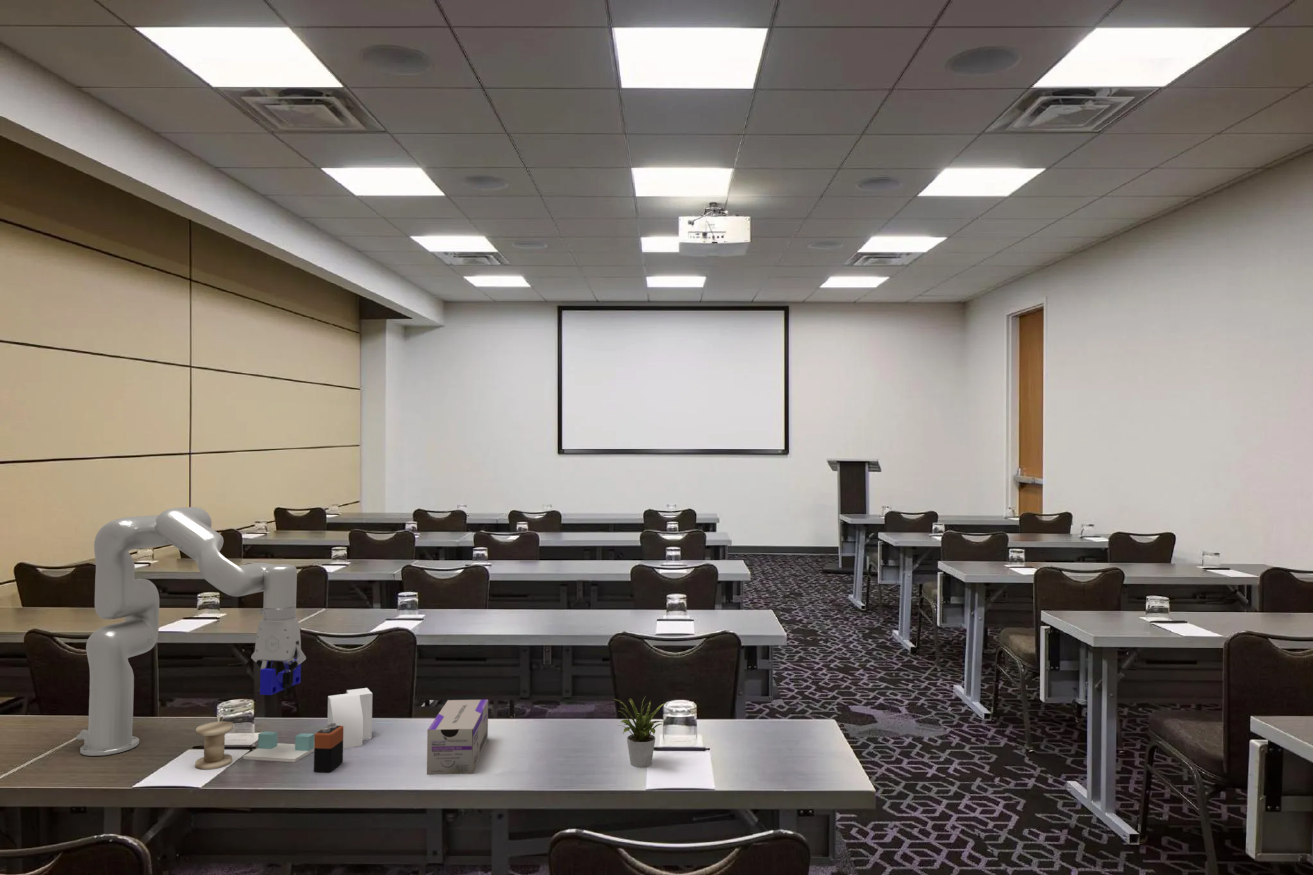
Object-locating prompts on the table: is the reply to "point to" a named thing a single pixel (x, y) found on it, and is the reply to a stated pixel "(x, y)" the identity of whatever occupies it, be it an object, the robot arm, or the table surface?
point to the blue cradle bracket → (276, 680)
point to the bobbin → (214, 745)
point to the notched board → (281, 748)
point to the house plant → (640, 735)
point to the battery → (328, 748)
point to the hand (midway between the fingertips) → (277, 686)
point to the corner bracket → (352, 715)
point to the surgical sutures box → (457, 737)
